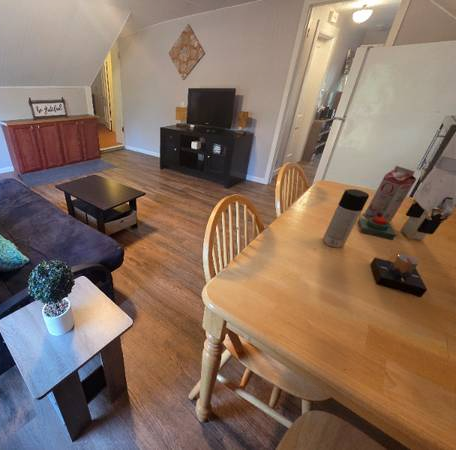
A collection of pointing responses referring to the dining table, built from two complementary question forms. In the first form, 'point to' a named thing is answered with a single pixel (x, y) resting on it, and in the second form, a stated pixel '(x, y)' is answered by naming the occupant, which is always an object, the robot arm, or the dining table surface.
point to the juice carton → (391, 193)
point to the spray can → (345, 217)
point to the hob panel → (397, 278)
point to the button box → (376, 228)
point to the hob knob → (403, 265)
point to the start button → (380, 220)
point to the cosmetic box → (415, 226)
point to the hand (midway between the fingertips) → (417, 224)
